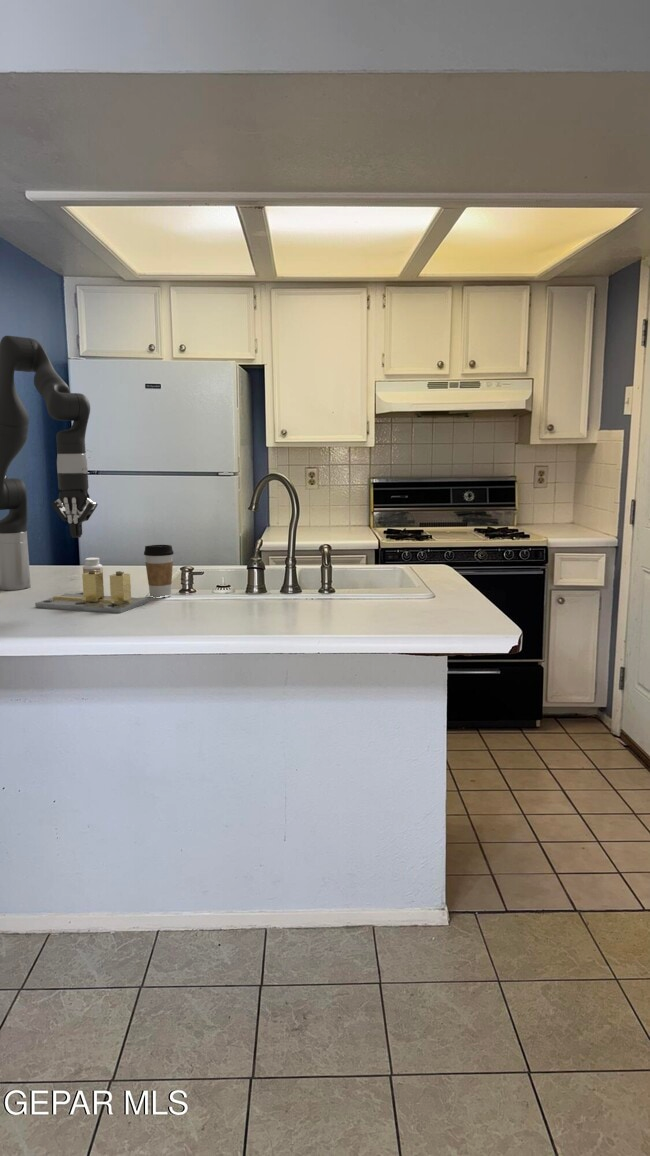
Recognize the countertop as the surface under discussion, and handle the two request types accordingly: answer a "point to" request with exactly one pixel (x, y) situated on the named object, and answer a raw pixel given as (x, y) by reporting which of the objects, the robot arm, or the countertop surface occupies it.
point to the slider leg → (92, 586)
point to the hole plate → (90, 604)
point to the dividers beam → (112, 590)
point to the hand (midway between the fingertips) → (76, 537)
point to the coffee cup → (159, 569)
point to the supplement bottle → (92, 565)
